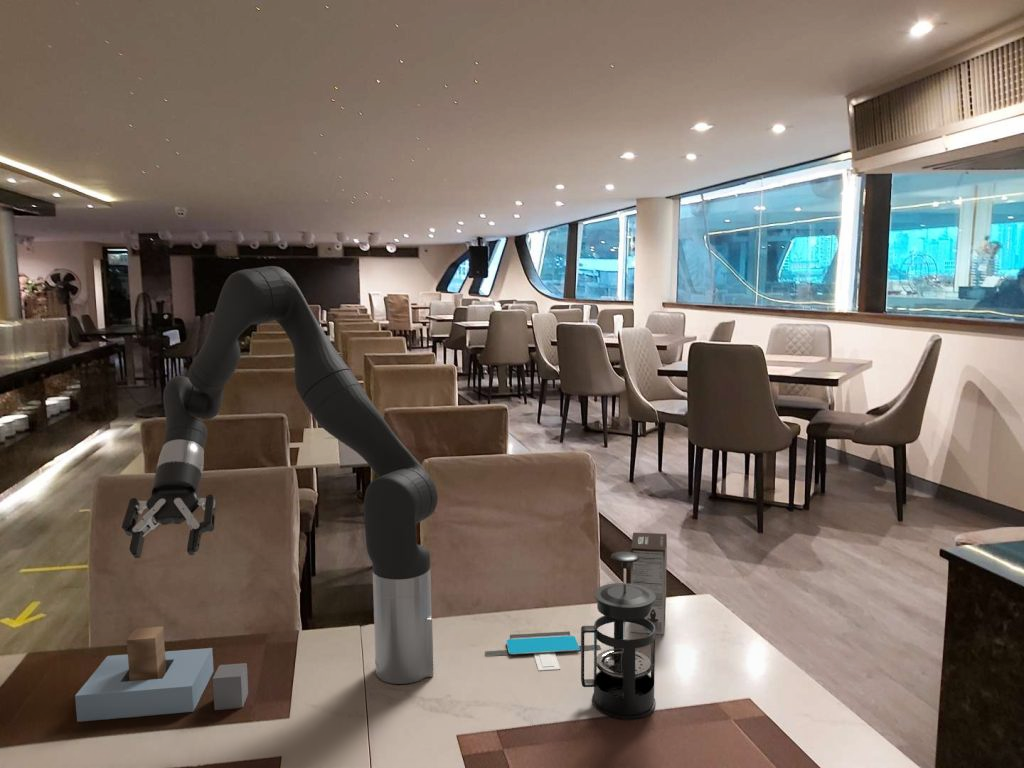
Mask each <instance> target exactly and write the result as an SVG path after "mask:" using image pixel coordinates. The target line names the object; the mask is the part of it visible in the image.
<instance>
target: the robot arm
mask: <svg viewBox="0 0 1024 768" xmlns="http://www.w3.org/2000/svg"><path fill="white" fill-rule="evenodd" d="M216 303H217V304H216V306H215V310H214V312H213V316H212V320H211V323H210V326H209V329H208V333H207V335H206V338H205V340H204V342H203V344H202V346H201V348H199V349H200V350H199V351H198V352H197V354H196V355H195V357H194V359H193V361H192V363H191V364H190V366H189V368H188V371H187V376H183V375H178V376H175V377H173V378H171V379H169V381H168V382H167V383H166V384H165V386H164V390H163V394H162V395H163V399H162V401H163V408H164V414H165V424H166V430H165V435H164V438H163V439H164V440H163V445H162V449H161V451H160V454H159V457H158V461H157V465H156V470H155V473H154V479H153V484H152V489H151V494H150V497H149V498H148V499H147V500H138V499H137V498H136V497H132V498H130V500H129V502H128V505H127V508H126V512H125V514H124V519H123V521H122V524H121V528H122V530H123V532H124V533H125V534H126V536H129V537H131V540H130V544H129V548H128V549H129V551H130V554H132V556H133V557H134V559H140V558H141V557H142V554H143V547H144V542H145V536H146V535H147V534H149V532H151V531H153V530H155V529H156V528H157V527H158V526H159V525H160V524H161V525H162V526H163V525H164V526H166V525H172V524H173V525H181V524H182V523H183V522H186V524H187V525H188V526H189V528H190V530H189V534H188V535H189V536H188V542H187V546H186V551H187V553H188V555H189V556H195V553H197V552H198V551H199V549H200V543H201V540H202V539H201V538H202V535H203V534H204V533H206V532H213V531H214V530H215V525H216V512H217V509H216V508H217V502H216V499H215V497H214V495H213V494H207V495H206V497H200V498H199V493H200V488H201V481H202V477H203V476H202V475H203V473H204V462H205V460H204V459H205V456H204V455H205V449H206V443H207V438H208V427H207V425H206V424H205V423H204V422H203V421H204V420H205V421H206V420H211V419H213V418H214V417H215V418H216V416H218V414H219V413H220V411H221V409H222V405H223V400H224V399H223V398H224V392H225V387H226V386H227V383H228V381H229V380H230V378H231V377H233V376H232V375H233V374H234V373H235V372H236V370H237V368H238V366H239V363H240V359H241V347H240V343H239V337H240V336H241V335H242V334H243V333H244V332H245V331H246V330H247V329H248V328H249V327H251V326H252V325H260V324H264V323H266V324H267V323H270V322H274V321H275V322H277V323H278V324H279V325H280V326H281V328H282V329H283V331H284V332H285V334H286V336H287V338H288V339H289V341H290V342H291V345H292V349H293V353H294V355H293V356H294V383H295V389H296V392H297V394H298V395H299V397H300V399H301V400H302V402H303V404H304V406H305V407H306V408H307V409H308V411H309V413H310V414H311V415H312V417H313V418H314V420H315V421H316V423H317V424H318V426H320V427H321V428H322V429H324V430H325V432H327V433H328V434H329V435H331V436H332V437H334V438H335V439H336V440H338V441H339V442H341V443H342V444H344V445H345V446H347V447H349V448H350V449H352V451H354V452H355V453H357V454H358V455H359V456H360V457H361V458H362V459H363V460H364V461H365V462H366V463H367V464H368V465H369V467H370V468H371V470H372V471H373V472H374V474H375V475H376V478H375V479H374V480H372V481H371V482H370V483H369V484H368V486H367V488H366V490H365V493H364V498H363V520H364V521H363V523H364V533H365V534H364V535H365V543H366V545H365V546H366V550H367V554H368V557H369V559H370V561H371V564H372V567H371V568H372V593H373V595H372V596H373V617H374V619H373V621H374V622H373V625H374V651H375V652H374V655H375V657H374V658H375V660H374V661H375V662H374V663H375V674H376V677H377V678H379V679H380V680H381V681H383V682H386V683H388V684H393V685H394V684H395V685H405V684H406V685H407V684H411V683H416V682H418V681H421V680H424V679H426V678H429V677H430V678H431V677H434V645H433V644H434V643H433V642H434V640H433V638H434V635H433V633H434V632H433V616H432V583H431V578H432V577H431V576H432V575H431V553H430V551H429V549H428V548H427V547H425V546H423V545H421V544H419V543H418V541H417V540H418V538H417V526H416V525H417V524H418V523H420V522H422V521H424V520H426V519H427V518H429V517H430V516H431V515H432V514H433V513H434V512H435V511H436V509H437V505H438V498H439V497H438V496H439V495H438V490H437V487H436V485H435V482H434V480H433V478H432V477H431V476H430V474H429V473H428V472H427V469H425V468H424V467H423V465H422V464H421V463H420V462H419V461H418V459H417V458H416V457H415V456H414V455H413V454H412V453H411V452H410V450H409V449H408V448H407V446H405V445H404V443H403V441H401V440H400V438H398V436H397V435H396V433H395V432H394V431H393V430H392V429H391V427H390V425H389V423H387V421H386V420H385V419H384V417H383V415H382V414H381V413H380V411H379V410H378V409H377V406H375V404H374V403H373V402H372V400H371V399H370V397H369V396H368V394H367V392H366V391H365V390H364V388H363V386H362V385H361V384H360V382H359V380H358V379H357V378H356V376H355V375H354V373H353V372H352V370H351V369H350V368H349V366H348V365H347V364H346V363H345V361H344V359H343V358H342V357H341V356H340V354H339V353H338V351H337V349H336V348H335V347H334V345H333V343H332V342H331V341H330V339H329V337H328V336H327V335H326V332H325V331H324V329H323V328H322V327H321V324H320V323H319V322H318V320H317V318H316V315H315V314H314V312H313V311H312V309H311V307H310V306H309V303H308V302H307V300H306V298H305V297H304V294H303V293H302V290H301V289H300V287H299V285H297V282H296V281H295V279H294V278H293V276H292V275H291V274H290V273H289V272H287V271H286V270H285V269H284V268H282V267H280V266H275V265H270V266H268V265H267V266H263V267H254V268H247V269H246V268H245V269H240V270H237V271H235V272H233V273H231V274H229V276H228V277H227V279H226V281H224V284H223V286H222V289H221V291H220V294H219V297H218V301H217V302H216ZM202 420H203V421H202ZM199 507H201V508H202V510H203V511H204V515H203V516H204V517H203V521H201V522H198V520H197V519H196V518H195V515H194V514H193V513H194V512H195V511H196V510H197V509H199ZM145 509H147V510H148V511H147V512H145V514H144V515H142V516H141V520H140V521H139V517H140V515H141V514H143V512H144V510H145ZM138 521H139V522H138Z"/></svg>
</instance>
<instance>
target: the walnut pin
mask: <svg viewBox="0 0 1024 768" xmlns="http://www.w3.org/2000/svg"><path fill="white" fill-rule="evenodd" d="M164 633H165V632H164V625H162V626H153V627H152V626H151V627H140V628H137V627H136V628H135V629H134V630H133V631H132V633H131V634H130V635H129V637H127V639H126V649H127V654H128V664H129V677H130V681H139V680H152V679H162V678H163V677H164V675H165V674H166V660H165V651H166V649H165V635H164Z"/></svg>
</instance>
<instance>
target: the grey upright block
mask: <svg viewBox="0 0 1024 768" xmlns="http://www.w3.org/2000/svg"><path fill="white" fill-rule="evenodd" d="M248 680H249V679H248V665H247V662H245V663H231V664H219V666H218V667H217V669H216V671H215V673H214V675H213V677H212V689H213V706H214V711H217V710H218V711H219V710H220V711H221V710H231V709H241V708H242V707H244V705H245V702H246V700H247V697H248V696H249V683H248V682H249V681H248Z"/></svg>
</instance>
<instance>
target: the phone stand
mask: <svg viewBox="0 0 1024 768" xmlns="http://www.w3.org/2000/svg"><path fill="white" fill-rule="evenodd" d="M590 650H591V651H592V650H594V644H590V645H589V644H587V645H586V644H584V652H585V651H590ZM597 650H602V648H601V646H600V644H597ZM484 652H485V653H484V654H485V656H486V657H487V656H488V657H489V656H498V657H500V656H516V655H517V656H518V655H529V654H530V655H531V654H532V655H533V657H534V660H535V663H536V668H537V671H538V672H542V671H543V672H545V671H548V672H549V671H560V670H561V667H560V664H559V661H558V658H557V656H556V653H565V652H566V653H568V652H569V653H570V652H581V645H579V644H578V641H577V638H576V636H574V635H571V631H555V632H554V631H553V632H537V633H536V632H535V633H518V634H516V633H515V634H509V637H508V639H507V640H506V649H502V650H501V649H500V650H498V649H497V650H487V651H484Z"/></svg>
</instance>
